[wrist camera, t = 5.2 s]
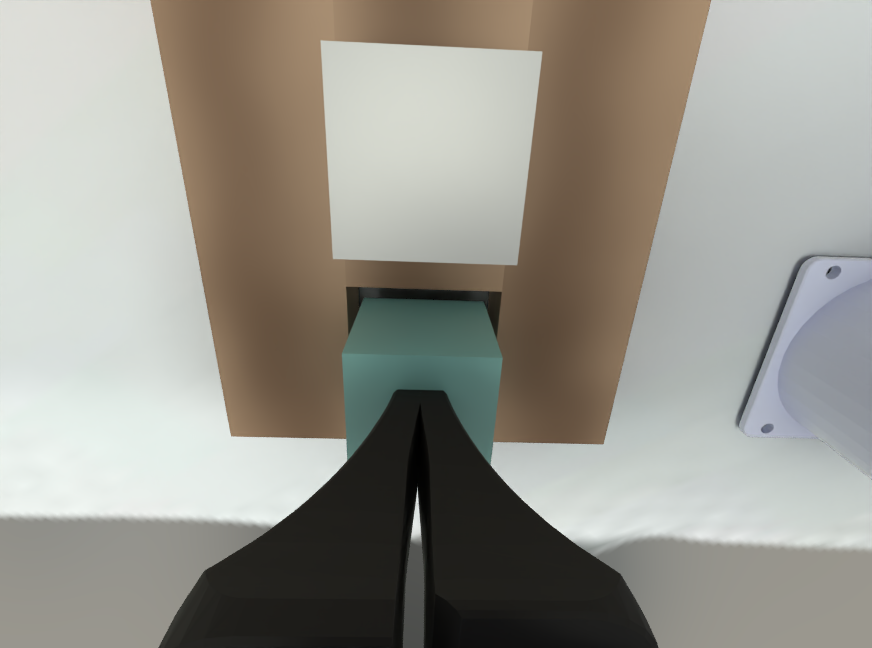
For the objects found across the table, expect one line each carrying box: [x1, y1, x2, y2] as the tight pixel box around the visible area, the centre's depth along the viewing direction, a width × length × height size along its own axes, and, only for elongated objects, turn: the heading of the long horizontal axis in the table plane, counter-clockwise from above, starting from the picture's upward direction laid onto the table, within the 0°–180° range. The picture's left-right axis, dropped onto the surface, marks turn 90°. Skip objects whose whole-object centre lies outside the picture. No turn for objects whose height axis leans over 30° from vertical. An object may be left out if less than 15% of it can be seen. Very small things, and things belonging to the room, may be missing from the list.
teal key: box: [342, 298, 503, 464], centre depth 13 cm, size 4×4×4 cm
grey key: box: [321, 40, 542, 265], centre depth 10 cm, size 4×4×4 cm
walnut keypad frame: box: [150, 0, 711, 444], centre depth 13 cm, size 14×20×2 cm
